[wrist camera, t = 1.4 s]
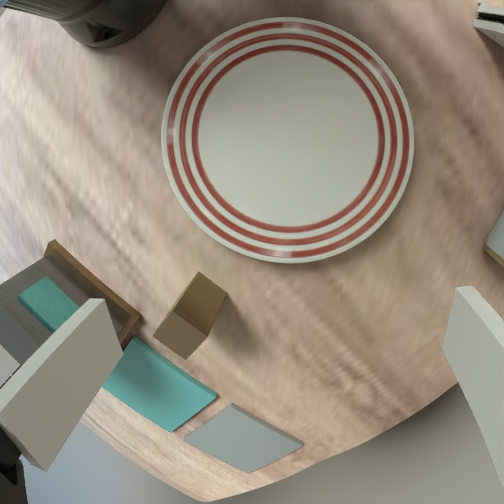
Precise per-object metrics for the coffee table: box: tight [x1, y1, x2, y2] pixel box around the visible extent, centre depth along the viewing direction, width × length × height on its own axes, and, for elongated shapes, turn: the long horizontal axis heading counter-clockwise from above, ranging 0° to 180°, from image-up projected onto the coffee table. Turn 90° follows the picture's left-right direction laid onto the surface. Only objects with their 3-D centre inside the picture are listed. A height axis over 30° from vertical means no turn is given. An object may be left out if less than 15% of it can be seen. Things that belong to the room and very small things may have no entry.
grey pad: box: [184, 403, 303, 474], centre depth 52 cm, size 16×16×1 cm
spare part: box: [153, 272, 226, 360], centre depth 37 cm, size 4×4×10 cm
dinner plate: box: [161, 17, 414, 263], centre depth 32 cm, size 27×27×3 cm
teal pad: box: [102, 336, 217, 433], centre depth 50 cm, size 16×16×1 cm
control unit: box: [0, 239, 141, 365], centre depth 39 cm, size 18×11×15 cm, turn 52°
